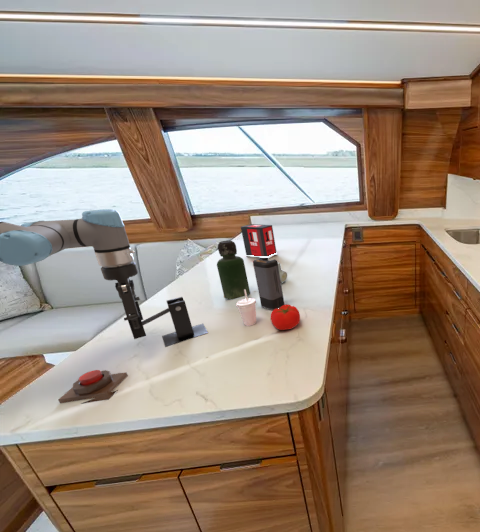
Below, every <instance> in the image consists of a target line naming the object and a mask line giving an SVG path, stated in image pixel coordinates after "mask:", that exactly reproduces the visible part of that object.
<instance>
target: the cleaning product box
mask: <svg viewBox="0 0 480 532" xmlns="http://www.w3.org/2000/svg"><path fill="white" fill-rule="evenodd" d="M273 228H274V227H273V225H272V224H254V223H251V224H246V225H242V226H240V230H241V235H242V239H243V244H244V250H245V256H246V255H254V256H269V255H271V254H274V253H276V252H277V246H276V240H275V234H274V229H273Z"/></svg>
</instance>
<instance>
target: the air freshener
mask: <svg viewBox="0 0 480 532" xmlns="http://www.w3.org/2000/svg"><path fill="white" fill-rule="evenodd" d="M277 262H278V268H279V274H280V280H281V284H283V283H284V282H285V281H286V280H287V278H288V272H287V271H285V270H283V269H282V265H281V262H279V261H277ZM282 282H283V283H282Z"/></svg>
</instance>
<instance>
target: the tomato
mask: <svg viewBox="0 0 480 532" xmlns="http://www.w3.org/2000/svg"><path fill="white" fill-rule="evenodd" d="M300 321H301V314H300V311H299V310H298V308H297V307H296V306H294V305H291V304H288V303H287V304H285V303H284V305H283V306H281V307H280V308H279V309H274V310H271V312H270V322H271V323H272V326H273V327H274V328H275V329H277V330H280V331H284V330H291V329H294V328H295V327H296V326H298V325H299V323H300Z"/></svg>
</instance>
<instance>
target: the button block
mask: <svg viewBox="0 0 480 532" xmlns="http://www.w3.org/2000/svg"><path fill="white" fill-rule="evenodd" d="M100 371H101V373H102V375H103V378H102V379H101V380H99V381H97V382H95V383H92V384H89V385H84V386H82V385H81V383H80V381H79V379H77V380H76V381H75V382H74V383H73V384H72V387H71V388H70V389H69V390H68V391H67V392H65V393H64V394H63V395H62V396H61V397H59V398H58V400H57V401H58V402H59V404H65V403H72V402H78V401H85V400H86V401H85V402H81V403H80V404H81V405H82V404H89V403H94V402H101V401H107V400H108V401H109V400H110V399H111V398H112V397H113V396H114V395H115V394H116V393H117V392H118V389H116V388H117V387H118V386H119V385H120V384H121V383H122V382H123V381H124V380H125V379H126V378H127V377H128V376H129V375H128V373H127V372H125V371H124V372H117V373H111V371H109V370H106V369H105V370H100ZM115 389H116V390H115Z"/></svg>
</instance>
